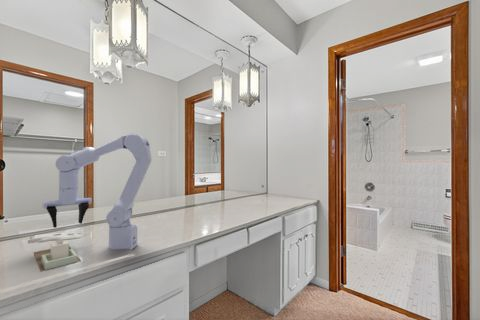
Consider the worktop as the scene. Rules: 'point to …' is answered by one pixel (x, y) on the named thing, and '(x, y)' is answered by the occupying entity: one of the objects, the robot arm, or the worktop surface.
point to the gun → (55, 237)
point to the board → (39, 254)
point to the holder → (59, 260)
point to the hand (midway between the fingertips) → (68, 224)
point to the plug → (59, 249)
